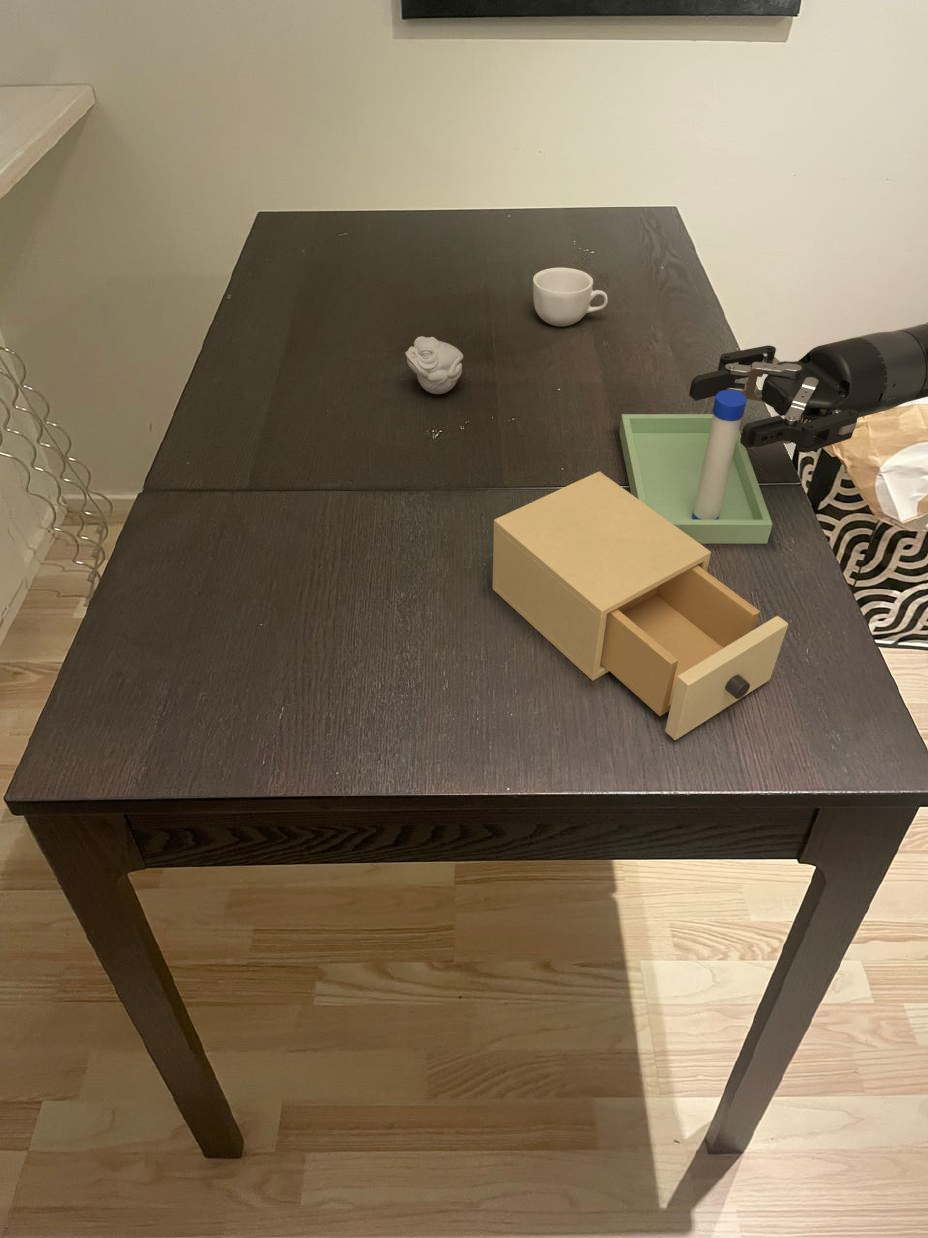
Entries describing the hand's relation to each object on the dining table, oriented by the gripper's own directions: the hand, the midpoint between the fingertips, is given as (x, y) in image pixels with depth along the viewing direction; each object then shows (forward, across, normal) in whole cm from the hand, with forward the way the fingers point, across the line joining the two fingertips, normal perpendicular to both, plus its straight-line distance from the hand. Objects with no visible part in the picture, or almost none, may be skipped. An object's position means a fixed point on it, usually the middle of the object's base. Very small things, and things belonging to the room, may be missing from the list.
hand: (717, 412), depth 87 cm
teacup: (-8, -44, +14) cm, 47 cm away
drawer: (+13, +16, +12) cm, 24 cm away
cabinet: (+15, +6, +13) cm, 21 cm away
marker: (-1, 0, +13) cm, 13 cm away
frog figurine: (+15, -34, +14) cm, 40 cm away
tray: (-3, -6, +13) cm, 15 cm away
